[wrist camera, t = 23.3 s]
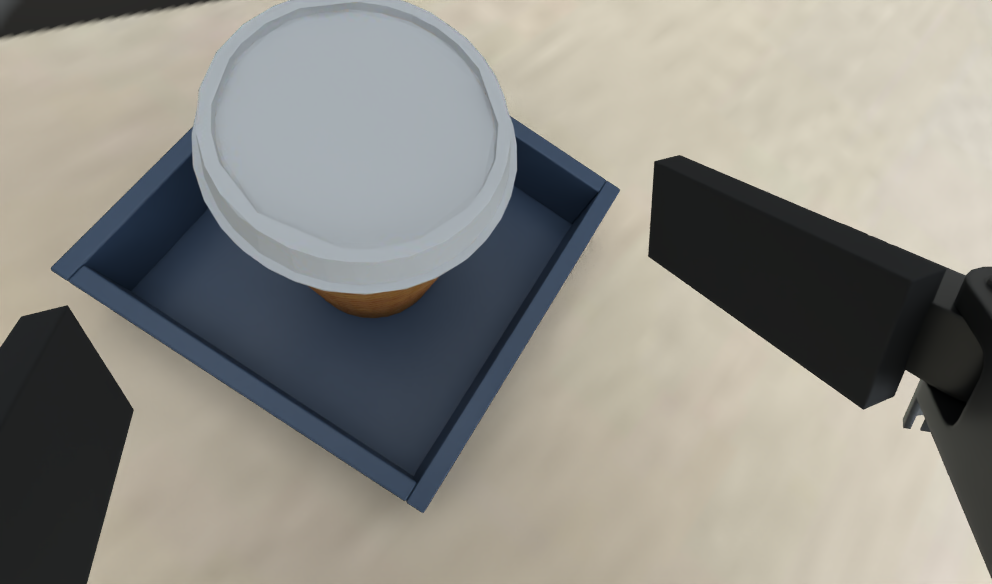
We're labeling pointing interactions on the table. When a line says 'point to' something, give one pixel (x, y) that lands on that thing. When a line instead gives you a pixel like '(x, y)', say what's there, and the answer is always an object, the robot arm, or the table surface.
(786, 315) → the robot arm
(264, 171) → the disposable coffee cup
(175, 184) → the bin
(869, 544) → the table surface
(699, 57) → the table surface
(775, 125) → the table surface
